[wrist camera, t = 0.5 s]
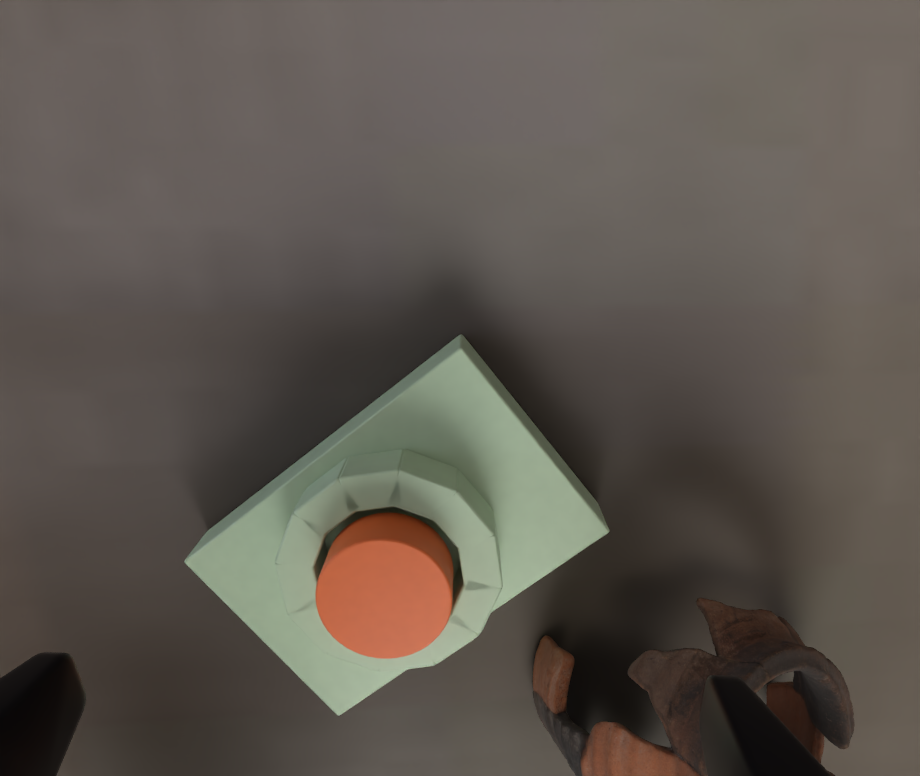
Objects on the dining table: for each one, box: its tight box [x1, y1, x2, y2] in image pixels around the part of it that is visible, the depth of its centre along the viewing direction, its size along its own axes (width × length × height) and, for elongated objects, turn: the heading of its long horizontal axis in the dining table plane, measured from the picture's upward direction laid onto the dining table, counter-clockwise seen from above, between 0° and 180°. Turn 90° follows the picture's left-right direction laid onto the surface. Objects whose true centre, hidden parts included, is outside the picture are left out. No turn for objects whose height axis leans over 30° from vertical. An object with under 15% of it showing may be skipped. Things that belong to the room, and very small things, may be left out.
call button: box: [315, 512, 454, 659], centre depth 21 cm, size 4×4×2 cm
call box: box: [184, 334, 609, 716], centre depth 23 cm, size 12×8×4 cm, turn 128°
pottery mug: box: [533, 598, 854, 776], centre depth 25 cm, size 12×10×8 cm
